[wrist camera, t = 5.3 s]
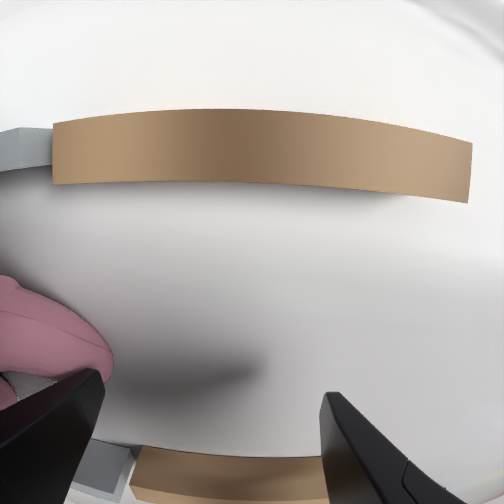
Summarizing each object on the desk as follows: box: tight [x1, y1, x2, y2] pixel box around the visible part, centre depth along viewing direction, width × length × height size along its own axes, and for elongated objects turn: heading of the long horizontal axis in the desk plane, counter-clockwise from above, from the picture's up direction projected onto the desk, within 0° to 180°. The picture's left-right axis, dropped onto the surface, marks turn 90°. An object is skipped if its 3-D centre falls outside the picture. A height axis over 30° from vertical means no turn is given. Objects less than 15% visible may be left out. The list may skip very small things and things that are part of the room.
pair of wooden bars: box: [52, 109, 472, 504], centre depth 9 cm, size 10×15×2 cm, turn 178°
